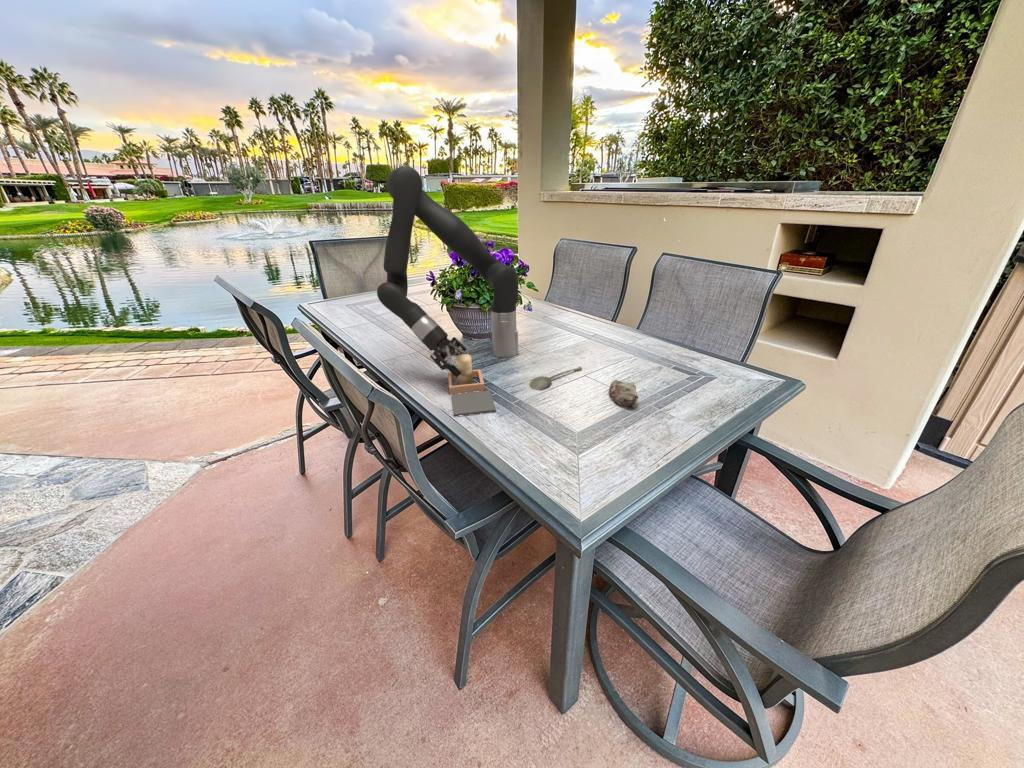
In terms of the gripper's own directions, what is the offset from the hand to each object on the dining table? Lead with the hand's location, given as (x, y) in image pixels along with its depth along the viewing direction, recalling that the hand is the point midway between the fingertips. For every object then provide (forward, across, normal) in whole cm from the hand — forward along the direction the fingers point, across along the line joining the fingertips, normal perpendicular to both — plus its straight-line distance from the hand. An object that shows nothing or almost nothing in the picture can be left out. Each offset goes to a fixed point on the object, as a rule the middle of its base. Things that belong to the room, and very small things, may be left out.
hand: (465, 369), depth 126 cm
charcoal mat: (+9, -11, -1) cm, 14 cm away
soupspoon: (+24, +13, -15) cm, 31 cm away
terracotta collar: (+4, 0, +4) cm, 6 cm away
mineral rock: (+39, +6, -30) cm, 50 cm away
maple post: (+4, 0, +4) cm, 6 cm away
